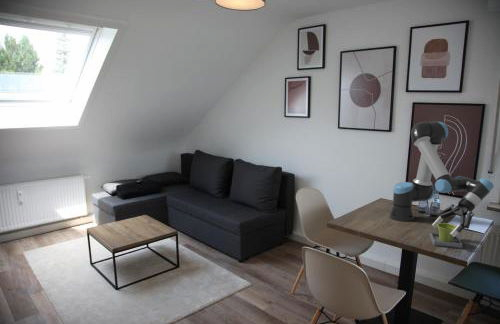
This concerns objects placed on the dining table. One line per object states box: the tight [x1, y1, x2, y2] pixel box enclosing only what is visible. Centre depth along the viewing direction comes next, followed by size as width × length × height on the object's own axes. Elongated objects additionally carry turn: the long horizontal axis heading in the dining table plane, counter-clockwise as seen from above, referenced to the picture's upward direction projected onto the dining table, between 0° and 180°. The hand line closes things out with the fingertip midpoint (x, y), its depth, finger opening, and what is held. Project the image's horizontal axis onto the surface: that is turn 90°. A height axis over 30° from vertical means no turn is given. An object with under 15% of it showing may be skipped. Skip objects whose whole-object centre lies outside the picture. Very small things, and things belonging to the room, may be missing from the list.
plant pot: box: [437, 222, 457, 243], centre depth 187 cm, size 9×9×9 cm
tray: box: [429, 232, 463, 250], centre depth 188 cm, size 13×13×3 cm
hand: (442, 230), depth 186 cm, fingers open, 13 cm apart
